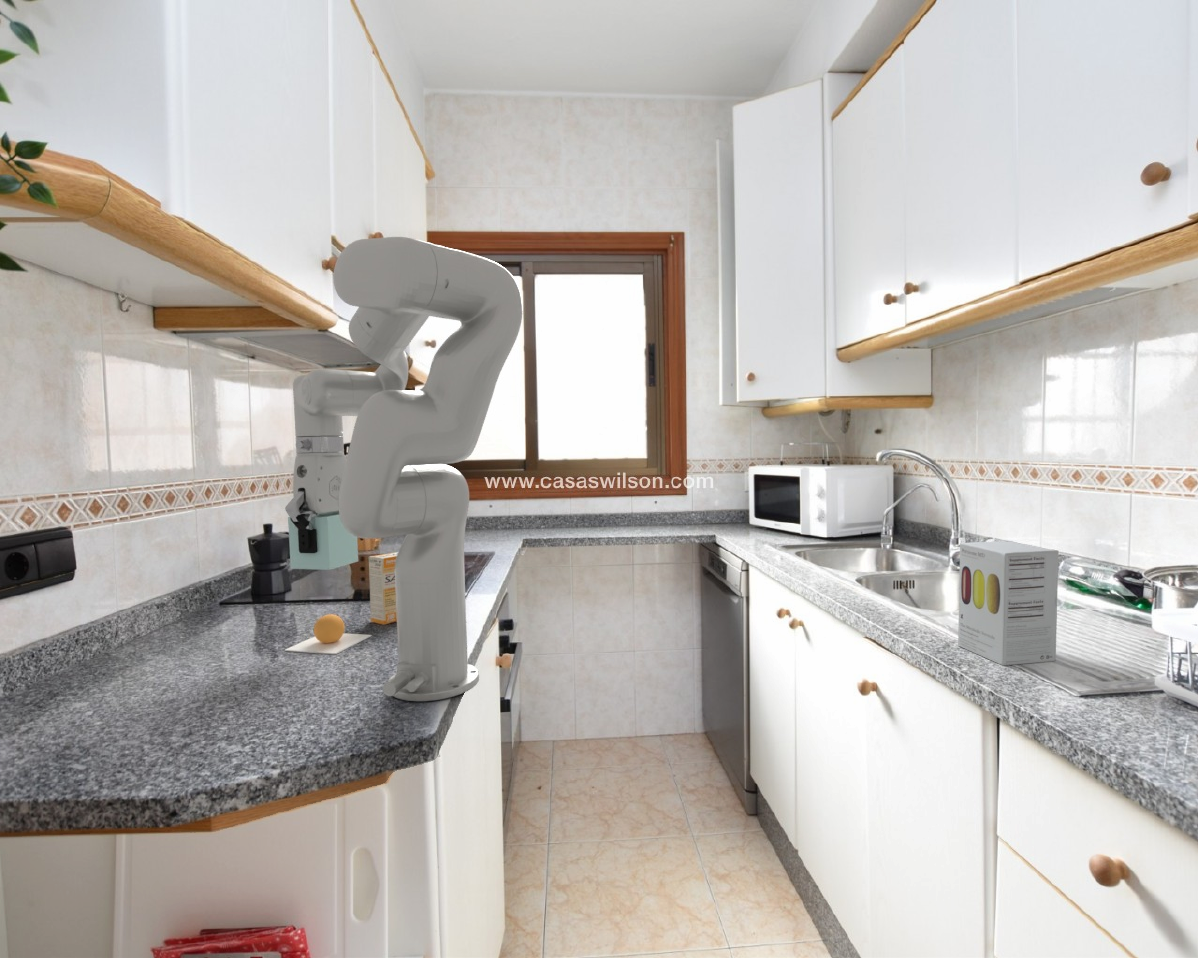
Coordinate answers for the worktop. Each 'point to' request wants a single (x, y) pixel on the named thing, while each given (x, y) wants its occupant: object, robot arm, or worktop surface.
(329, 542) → the mint foam cube
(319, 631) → the ball
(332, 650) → the tape square
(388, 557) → the supplement box
